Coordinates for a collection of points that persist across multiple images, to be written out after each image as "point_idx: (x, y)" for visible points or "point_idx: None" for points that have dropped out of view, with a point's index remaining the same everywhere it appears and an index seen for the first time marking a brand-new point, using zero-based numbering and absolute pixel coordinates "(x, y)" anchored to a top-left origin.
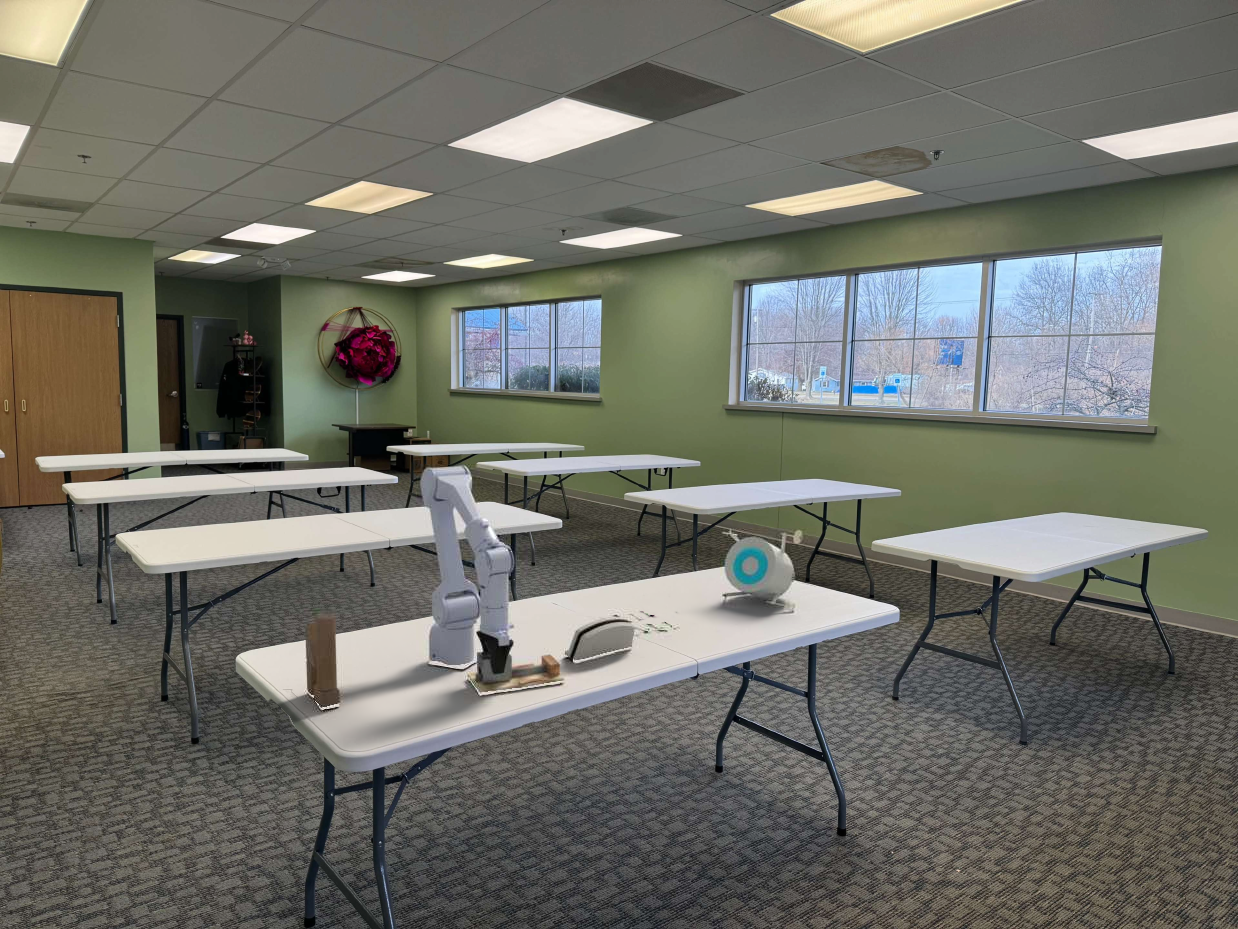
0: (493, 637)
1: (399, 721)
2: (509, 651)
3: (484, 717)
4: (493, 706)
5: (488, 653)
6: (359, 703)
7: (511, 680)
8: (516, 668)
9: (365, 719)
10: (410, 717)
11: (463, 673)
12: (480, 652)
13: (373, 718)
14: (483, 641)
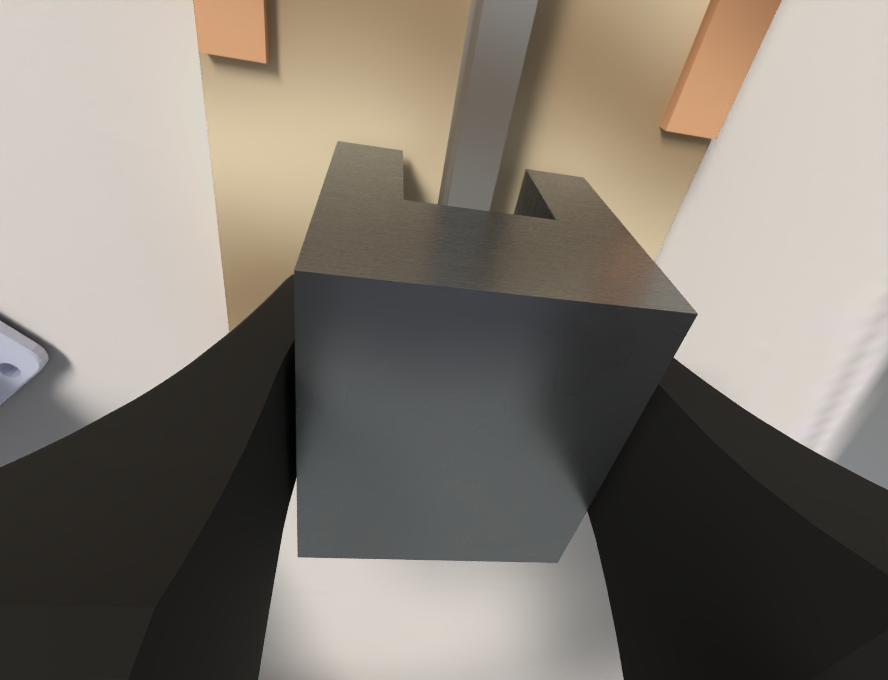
0: (236, 626)
1: (571, 625)
2: (861, 479)
3: (804, 445)
4: (743, 378)
5: (391, 491)
6: (351, 671)
7: (562, 166)
8: (480, 63)
9: (488, 668)
10: (566, 606)
11: (106, 359)
12: (315, 537)
13: (496, 658)
14: (260, 652)
